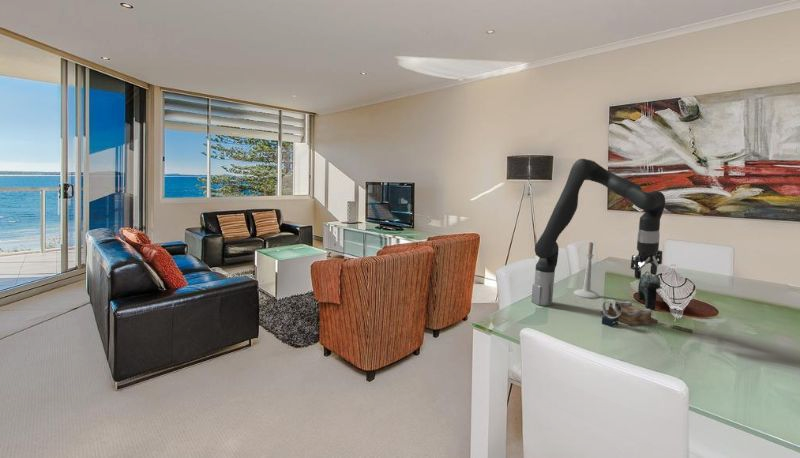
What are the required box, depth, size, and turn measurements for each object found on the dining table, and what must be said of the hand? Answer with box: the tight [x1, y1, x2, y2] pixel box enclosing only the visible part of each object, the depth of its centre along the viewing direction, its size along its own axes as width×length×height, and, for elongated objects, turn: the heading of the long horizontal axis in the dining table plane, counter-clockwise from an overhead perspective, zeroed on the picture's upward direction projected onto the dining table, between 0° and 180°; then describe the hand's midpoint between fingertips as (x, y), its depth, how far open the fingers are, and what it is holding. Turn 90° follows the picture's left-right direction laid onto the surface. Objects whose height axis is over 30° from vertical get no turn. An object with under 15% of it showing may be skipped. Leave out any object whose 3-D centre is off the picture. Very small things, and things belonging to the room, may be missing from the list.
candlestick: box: [573, 241, 600, 300], centre depth 207 cm, size 13×13×30 cm
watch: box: [601, 298, 622, 328], centre depth 167 cm, size 6×8×11 cm
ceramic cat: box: [637, 271, 661, 311], centre depth 194 cm, size 20×6×20 cm, turn 161°
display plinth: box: [600, 301, 659, 327], centre depth 176 cm, size 16×16×6 cm
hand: (645, 276), depth 160 cm, fingers open, 8 cm apart
